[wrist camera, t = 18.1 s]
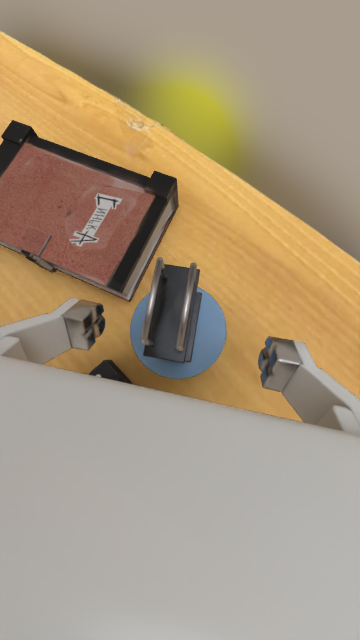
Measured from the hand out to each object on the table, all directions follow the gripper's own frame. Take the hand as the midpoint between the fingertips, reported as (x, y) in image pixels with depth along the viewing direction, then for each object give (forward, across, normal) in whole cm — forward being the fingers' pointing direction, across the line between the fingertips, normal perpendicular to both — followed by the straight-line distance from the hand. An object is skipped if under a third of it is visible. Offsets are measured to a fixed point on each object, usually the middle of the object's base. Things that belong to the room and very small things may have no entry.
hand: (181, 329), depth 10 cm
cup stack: (+14, +1, +12) cm, 18 cm away
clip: (+6, +1, +4) cm, 7 cm away
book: (+24, +20, +2) cm, 31 cm away
